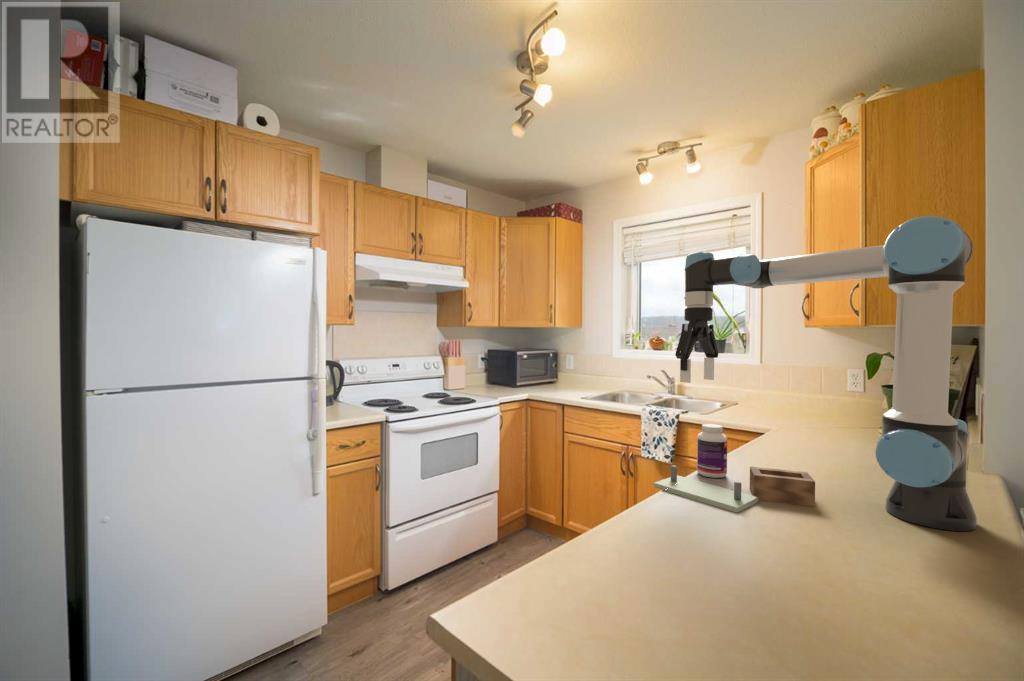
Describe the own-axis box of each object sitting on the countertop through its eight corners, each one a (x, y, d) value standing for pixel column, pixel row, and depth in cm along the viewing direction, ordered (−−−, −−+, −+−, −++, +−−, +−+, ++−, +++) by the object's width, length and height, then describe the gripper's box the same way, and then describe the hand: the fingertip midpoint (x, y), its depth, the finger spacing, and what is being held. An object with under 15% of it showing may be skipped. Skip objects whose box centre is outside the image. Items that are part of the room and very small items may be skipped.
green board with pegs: (758, 502, 112) (758, 480, 112) (737, 512, 105) (737, 490, 105) (676, 479, 129) (676, 460, 129) (653, 487, 122) (654, 467, 122)
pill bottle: (730, 480, 129) (731, 429, 128) (699, 478, 130) (700, 427, 130) (722, 471, 137) (723, 423, 136) (694, 470, 138) (695, 422, 138)
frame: (806, 495, 117) (807, 472, 117) (814, 506, 109) (815, 481, 109) (749, 489, 121) (750, 466, 121) (753, 499, 114) (754, 475, 114)
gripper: (706, 309, 143) (705, 377, 143) (663, 305, 127) (662, 382, 127) (731, 308, 137) (730, 379, 138) (688, 304, 121) (687, 384, 121)
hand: (697, 381), depth 132 cm, fingers open, 13 cm apart
